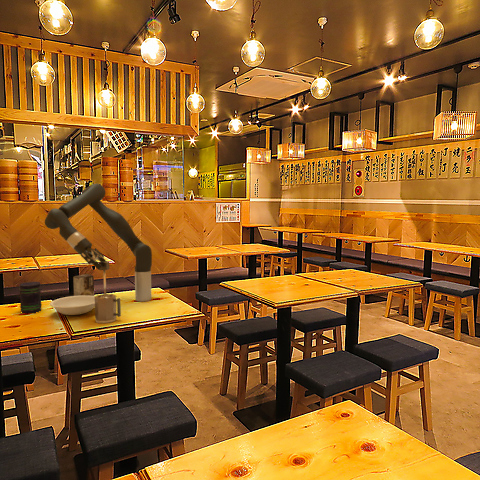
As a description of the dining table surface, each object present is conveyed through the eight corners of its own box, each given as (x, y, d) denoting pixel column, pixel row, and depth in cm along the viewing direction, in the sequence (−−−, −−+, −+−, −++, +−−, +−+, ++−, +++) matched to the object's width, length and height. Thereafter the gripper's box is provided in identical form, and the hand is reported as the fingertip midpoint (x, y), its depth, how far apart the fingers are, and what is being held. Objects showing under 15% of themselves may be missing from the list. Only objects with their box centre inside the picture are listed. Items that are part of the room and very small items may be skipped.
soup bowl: (52, 309, 208) (52, 297, 207) (100, 305, 216) (99, 293, 216) (48, 322, 186) (47, 309, 185) (101, 317, 194) (100, 304, 193)
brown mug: (100, 317, 194) (99, 293, 193) (123, 317, 194) (123, 294, 193) (92, 323, 185) (91, 298, 183) (117, 323, 184) (116, 298, 183)
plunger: (101, 297, 191) (100, 261, 189) (113, 297, 191) (112, 261, 189) (97, 300, 185) (95, 263, 184) (108, 300, 185) (107, 263, 183)
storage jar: (45, 311, 205) (44, 283, 203) (26, 315, 197) (24, 286, 195) (36, 307, 211) (34, 280, 209) (17, 312, 203) (15, 284, 201)
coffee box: (88, 301, 226) (87, 273, 224) (95, 302, 222) (94, 275, 220) (73, 304, 218) (72, 276, 217) (80, 306, 214) (79, 277, 213)
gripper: (80, 246, 193) (104, 269, 194) (67, 250, 179) (92, 274, 179) (90, 236, 192) (114, 259, 193) (77, 239, 178) (103, 263, 179)
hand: (103, 266), depth 186 cm, fingers open, 8 cm apart
